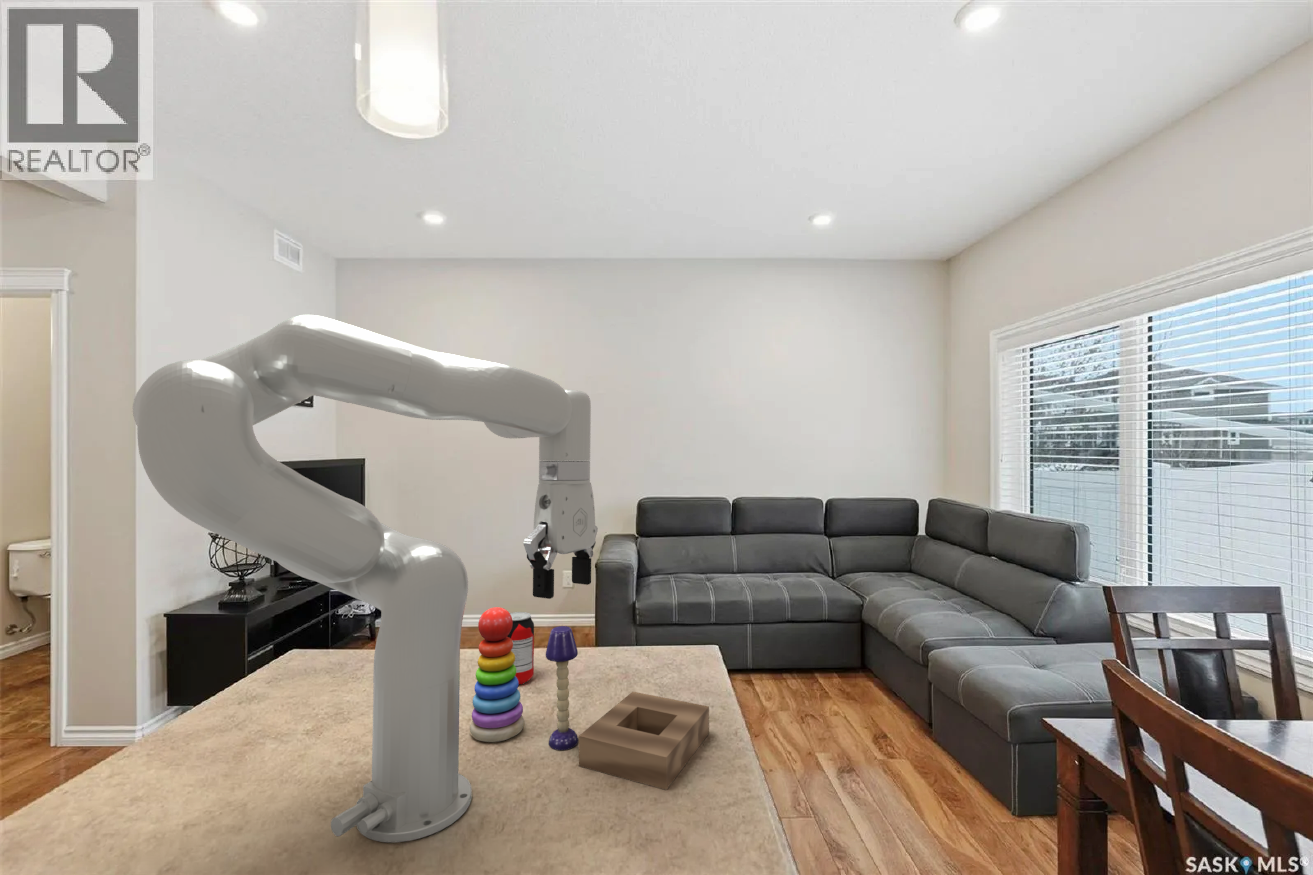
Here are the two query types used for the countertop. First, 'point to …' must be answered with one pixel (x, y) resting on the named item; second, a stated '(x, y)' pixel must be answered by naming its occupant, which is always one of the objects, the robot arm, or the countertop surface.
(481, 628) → the stacking toy
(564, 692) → the toy lamp
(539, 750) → the countertop surface
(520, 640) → the beverage can
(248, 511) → the robot arm
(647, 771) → the brown flat frame block
